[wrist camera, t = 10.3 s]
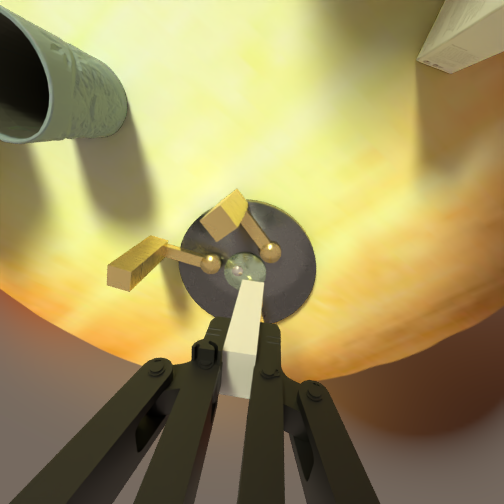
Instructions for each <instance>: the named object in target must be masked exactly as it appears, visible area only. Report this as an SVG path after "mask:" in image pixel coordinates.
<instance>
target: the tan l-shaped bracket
mask: <svg viewBox="0 0 504 504" xmlns="http://www.w3.org/2000/svg"><path fill="white" fill-rule="evenodd" d="M248 207H249V204H248V203H247V201H246V200H245V198H244V197H243V196H242V194H241V193H240V192H239V190H238V189H236V190H234V191H233V192H232V193H230V194H229V195H228V196H226V197H225V198H224V199H223V200H221V201H220V202H219V203H218V204H217V205H216V206H215V207H214V208H213V209H212V210H210V211H209V212H208V213H207V214H206V215H205V216H204V217H203V218H202V219H201V220H200V222H201V224H202V225H203V226H204V227H205V228H206V230H207V231H208V232H209V233H210V235H211V236H212V237H213V238H214V240H215V241H216V242H218V241H219V240H221V239H222V238H223V237H225V236H226V235H228V234H229V233H231V232H232V231H234V230H235V229H236V228H238V226H239V224H240V223H241V224H242V226H243V227H244V228H245V230H246V231H247V232H248V234H249V235H250V236H251V238H252V239H253V240H254V242H255V243H256V244H257V246H258V247H259V248H260V249H261V250H260V256H261V258H262V259H263V260H264V261H265V262H267V263H274V262H277V261H278V260H279V259H280V257H281V247H280V245H279V244H278V243H277V242H275V241H271V240H270V239H269V238H268V236H267V235H266V233H265V232H264V231H263V229H262V228H261V227H260V225H259V224H258V223H257V221H256V220H255V219H254V217H253V216H252V214H251V213H250V212H249V210H248Z"/></svg>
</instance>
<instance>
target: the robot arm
mask: <svg viewBox="0 0 504 504" xmlns="http://www.w3.org/2000/svg"><path fill="white" fill-rule="evenodd" d="M263 289H264V282H256V281H249V280H242V283H241V286H240V290H239V293H238V297H237V300H236V304H235V308H234V311H233V315H232V318H226V317H219V316H216V317H215V318H214V319H213V320H212V321H211V322H210V325H209V327H208V330H207V332H206V335H205V337H204V339H202V340H199V341H197V342H196V343H194V345H193V346H192V360H191V361H190V362H187V363H184V364H177V365H172V363H171V361H169V360H168V359H166V358H154V359H152V360H149V361H148V362H147V363H145V364H144V365H143V366H142V367H141V368H140V369H139V370H138V371H137V372H136V373H135V374H134V375H133V377H132V378H130V380H129V381H128V382H127V383H126V384H125V385H124V386H123V387H122V388H121V389H120V390H119V391H118V392H117V393H116V394H115V395H114V396H113V397H112V398H111V399H110V400H109V401H108V402H107V403H106V404H105V405H104V406H103V407H102V409H100V410H99V411H98V412H97V414H96V415H95V416H94V417H93V418H92V419H91V420H90V421H89V422H88V423H87V424H86V425H85V426H84V427H83V428H82V429H81V430H80V431H79V432H78V433H77V434H76V435H75V436H74V437H73V438H72V439H71V440H70V441H69V442H68V443H67V444H66V446H64V447H63V449H62V450H61V451H60V452H59V453H58V454H57V455H56V456H55V457H54V458H53V459H52V460H51V461H50V462H49V463H48V464H47V465H46V466H45V467H44V468H43V469H42V470H41V471H40V472H39V473H38V474H37V475H36V476H35V477H34V478H33V479H32V480H31V482H30V483H29V484H28V485H27V486H26V487H25V488H24V489H23V490H22V491H21V492H20V493H19V494H18V495H17V496H16V497H15V498H14V499H13V500H12V501H11V502H10V503H9V504H112V503H113V502H114V500H115V499H116V497H117V496H118V494H119V493H120V491H121V490H122V488H123V487H124V485H125V484H126V482H127V481H128V480H129V478H130V476H131V475H132V473H133V472H134V471H135V469H136V468H137V466H138V464H139V463H140V462H141V460H142V458H143V457H144V456H145V454H146V453H147V451H148V450H149V448H150V447H151V445H152V444H153V442H154V441H155V439H156V438H157V436H158V435H159V433H160V432H161V430H162V429H163V428H164V430H163V433H162V435H161V437H160V440H159V442H158V444H157V447H156V449H155V452H154V454H153V457H152V459H151V462H150V464H149V467H148V469H147V472H146V474H145V476H144V479H143V481H142V484H141V486H140V489H139V491H138V493H137V496H136V499H135V501H134V503H133V504H194V501H195V497H196V492H197V489H198V484H199V480H200V476H201V472H202V468H203V463H204V459H205V455H206V451H207V446H208V442H209V438H210V434H211V430H212V425H213V421H214V417H215V412H216V408H217V402H218V395H219V394H223V395H230V396H235V397H241V398H247V399H249V407H248V415H247V424H246V431H245V440H244V448H243V456H242V465H241V474H240V481H239V490H238V498H237V504H285V493H284V491H285V487H284V431H286V432H288V433H289V436H290V440H291V444H292V448H293V452H294V456H295V460H296V463H297V467H298V471H299V475H300V479H301V483H302V486H303V490H304V494H305V498H306V502H307V504H380V502H379V500H378V498H377V496H376V494H375V491H374V489H373V487H372V485H371V483H370V480H369V478H368V476H367V474H366V472H365V470H364V467H363V465H362V463H361V461H360V459H359V457H358V454H357V452H356V450H355V448H354V446H353V444H352V441H351V439H350V437H349V435H348V433H347V431H346V429H345V426H344V424H343V422H342V420H341V418H340V416H339V413H338V411H337V409H336V407H335V405H334V403H333V400H332V398H331V397H330V394H329V392H328V391H327V389H326V388H325V387H324V386H323V385H322V384H321V383H319V382H316V381H312V380H307V381H304V382H302V383H301V384H299V383H297V382H295V381H293V380H291V379H289V378H288V377H287V376H286V375H285V374H284V373H283V371H282V369H281V345H280V344H281V339H280V338H281V334H280V329H279V327H278V326H277V324H271V323H264V322H260V317H261V308H262V298H263ZM219 391H220V393H219ZM164 426H165V427H164Z"/></svg>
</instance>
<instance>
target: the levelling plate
mask: <svg viewBox="0 0 504 504" xmlns="http://www.w3.org/2000/svg"><path fill="white" fill-rule="evenodd" d="M246 201H247V203H248V204H249V207H248V210H249V212H250V213H251V214H252V216H253V217H254V219H255V220H256V221H257V223H258V224H259V225H260V227H261V228H262V229H263V231H264V232H265V233H266V235H267V236H268V238H269V239H270V240H271V241H275V242H277V243H278V244H279V245H280V247H281V257H280V259H279V260H278V261H277V262H274V263H267V262H265V261H264V260H263V259H262V258H261V256H260V250H261V249H260V248H259V247H258V246H257V244H256V243H255V242H254V240H253V239H252V238H251V236H250V235H249V234H248V232H247V231H246V230H245V228H244V227H243V226H242V224H241V223H240V224H239V226H238V228H236V229H235V230H234V231H232V232H231V233H229V234H228V235H226V236H225V237H223V238H222V239H221V240H219V241H218V242H216V241H215V240H214V238H213V237H212V236H211V235H210V233H209V232H208V231H207V230H206V228H205V227H204V226H203V225H202V224H201V222H200V220H201V219H202V218H203V217H204V216H205V215H206V214H207V213H208V212H209V211H210V210H212V209H213V208H214V207H213V208H211V209H209V210H208V211H206V212H205V213H203V214H202V215H201V216H200V217H199V218H198V219H197V220H196V221H195V222H194V223H193V224H192V225H191V226H190V228H189V229H188V231H187V232H186V234H185V236H184V238H183V240H182V243H181V248H184V249H187V250H191V251H194V252H197V253H201V254H204V255H206V254H207V253H215V254H217V255H218V256H219V257H220V258H221V261H222V264H221V267H220V269H219V271H218V272H217V273H215V274H207V273H205V272H204V271H203V270H202V269H201V267H198V266H194V265H191V264H188V263H184V262H181V261H179V269H180V275H181V278H182V281H183V283H184V285H185V287H186V289H187V291H188V293H189V294H190V296H191V297H192V298H193V299H194V301H195V302H196V303H197V304H198V305H199V306H200V307H201V308H202V309H204V310H205V311H206V312H208V313H209V314H211V315H213V316H214V317H216V316H219V317H226V318H232V315H233V311H234V308H235V304H236V300H237V297H238V293H239V290H240V286H241V283H242V280H249V281H256V282H264V289H263V307H262V312H263V316H264V319H265V323H275V322H278V321H280V320H282V319H284V318H286V317H288V316H289V315H291V314H292V313H294V312H295V311H296V310H297V309H298V308H299V307H300V306H301V305H302V304H303V303H304V302H305V300H306V299H307V298H308V296H309V294H310V292H311V290H312V287H313V285H314V281H315V276H316V260H315V255H314V251H313V247H312V244H311V242H310V240H309V237H308V236H307V234H306V232H305V231H304V229H303V228H302V227H301V225H300V224H299V223H298V222H297V221H296V220H295V219H294V218H293V217H292V216H290V215H289V214H288V213H286V212H285V211H283V210H282V209H280V208H278V207H276V206H274V205H271V204H268V203H265V202H261V201H256V200H246Z"/></svg>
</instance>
